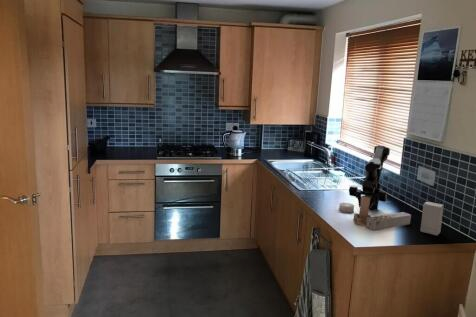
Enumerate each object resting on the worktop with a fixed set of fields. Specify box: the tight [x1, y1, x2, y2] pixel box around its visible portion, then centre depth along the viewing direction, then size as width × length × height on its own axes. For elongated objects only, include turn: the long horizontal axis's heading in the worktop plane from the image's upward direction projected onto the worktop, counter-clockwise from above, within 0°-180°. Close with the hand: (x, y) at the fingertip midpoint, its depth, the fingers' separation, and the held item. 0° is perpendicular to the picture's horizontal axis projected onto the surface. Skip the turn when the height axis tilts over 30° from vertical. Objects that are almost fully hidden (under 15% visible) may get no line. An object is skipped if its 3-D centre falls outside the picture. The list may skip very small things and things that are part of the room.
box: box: [365, 211, 412, 231], centre depth 211 cm, size 27×5×6 cm, turn 119°
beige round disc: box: [338, 202, 355, 214], centre depth 231 cm, size 8×8×4 cm
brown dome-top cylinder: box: [358, 195, 371, 219], centre depth 213 cm, size 5×5×12 cm
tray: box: [353, 212, 372, 226], centre depth 214 cm, size 9×9×3 cm
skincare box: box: [420, 201, 444, 236], centre depth 204 cm, size 8×6×15 cm
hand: (364, 207), depth 211 cm, fingers closed on brown dome-top cylinder, 5 cm apart
